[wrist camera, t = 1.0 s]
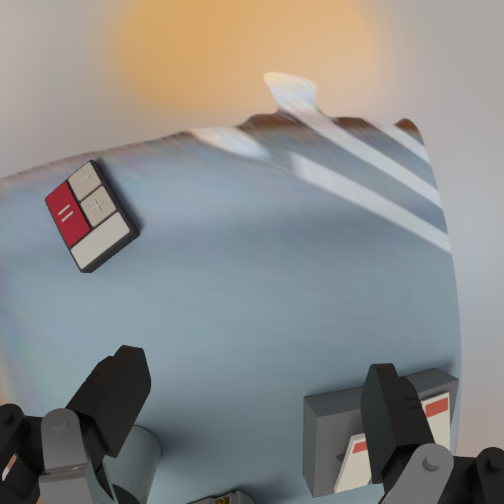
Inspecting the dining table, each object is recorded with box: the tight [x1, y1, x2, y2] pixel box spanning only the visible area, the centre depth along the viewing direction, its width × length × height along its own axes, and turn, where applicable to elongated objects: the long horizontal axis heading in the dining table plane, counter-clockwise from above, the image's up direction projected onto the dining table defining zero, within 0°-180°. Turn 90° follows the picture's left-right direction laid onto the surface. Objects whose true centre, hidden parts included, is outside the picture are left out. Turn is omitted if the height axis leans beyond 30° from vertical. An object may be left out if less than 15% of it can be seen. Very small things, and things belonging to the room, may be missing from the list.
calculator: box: [45, 160, 140, 273], centre depth 45 cm, size 11×4×15 cm
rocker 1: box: [334, 433, 371, 493], centre depth 38 cm, size 6×16×1 cm, turn 3°
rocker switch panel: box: [303, 368, 459, 498], centre depth 45 cm, size 28×18×10 cm, turn 93°
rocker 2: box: [420, 392, 450, 451], centre depth 39 cm, size 6×16×1 cm, turn 3°
